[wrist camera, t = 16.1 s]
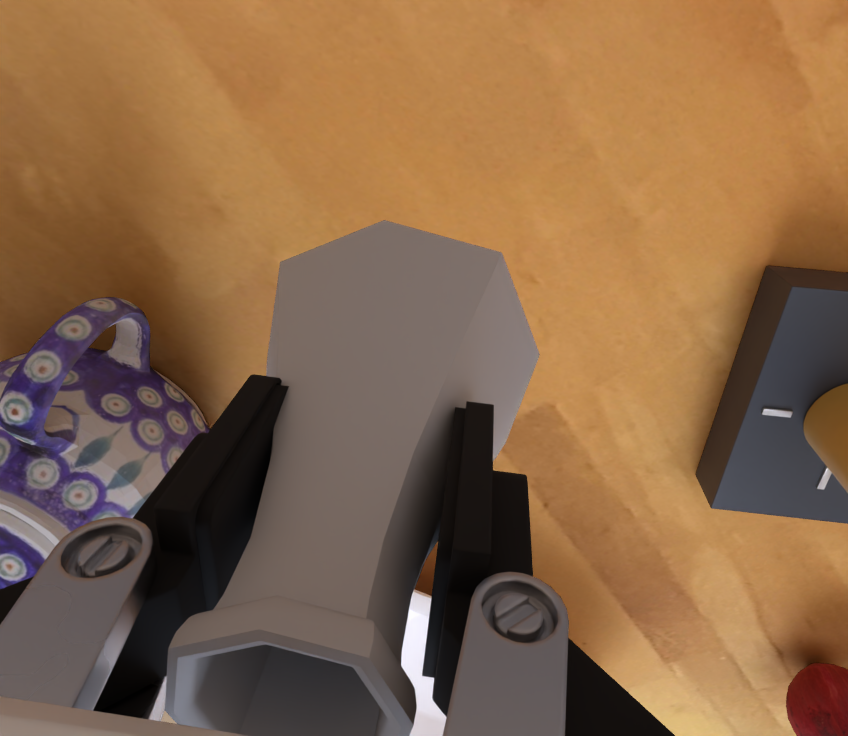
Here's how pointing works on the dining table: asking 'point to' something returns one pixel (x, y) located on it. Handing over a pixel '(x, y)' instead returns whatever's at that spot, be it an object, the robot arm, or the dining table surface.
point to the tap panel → (780, 401)
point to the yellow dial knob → (830, 431)
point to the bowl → (420, 668)
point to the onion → (819, 701)
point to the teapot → (83, 431)
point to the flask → (352, 482)
